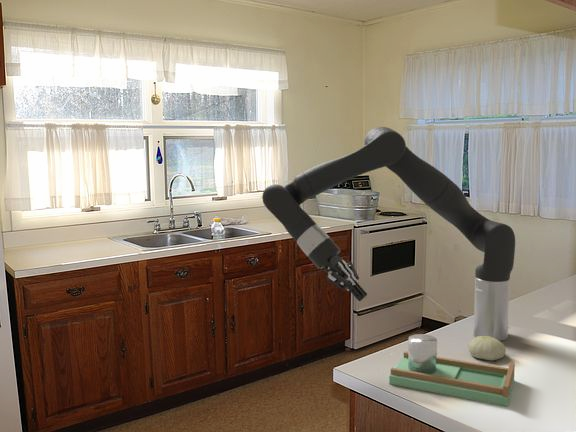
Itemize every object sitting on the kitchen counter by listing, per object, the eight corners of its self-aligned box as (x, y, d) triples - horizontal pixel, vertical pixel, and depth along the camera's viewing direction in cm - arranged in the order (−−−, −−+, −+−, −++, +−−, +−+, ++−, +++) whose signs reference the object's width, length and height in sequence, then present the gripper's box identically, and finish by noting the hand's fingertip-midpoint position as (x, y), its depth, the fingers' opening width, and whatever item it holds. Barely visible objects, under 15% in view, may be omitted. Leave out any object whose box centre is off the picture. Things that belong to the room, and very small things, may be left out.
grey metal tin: (412, 361, 137) (412, 332, 136) (439, 366, 134) (439, 336, 133) (405, 371, 131) (405, 341, 130) (432, 376, 128) (433, 345, 127)
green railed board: (405, 361, 142) (405, 345, 141) (514, 380, 130) (514, 362, 129) (389, 383, 129) (389, 365, 129) (507, 406, 117) (508, 387, 117)
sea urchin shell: (495, 340, 150) (504, 327, 144) (503, 368, 145) (513, 356, 139) (462, 341, 150) (470, 328, 143) (468, 369, 145) (477, 357, 139)
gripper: (316, 241, 133) (364, 296, 129) (337, 232, 145) (382, 282, 141) (297, 261, 137) (343, 314, 133) (319, 250, 148) (362, 299, 144)
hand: (363, 297), depth 137 cm, fingers closed
